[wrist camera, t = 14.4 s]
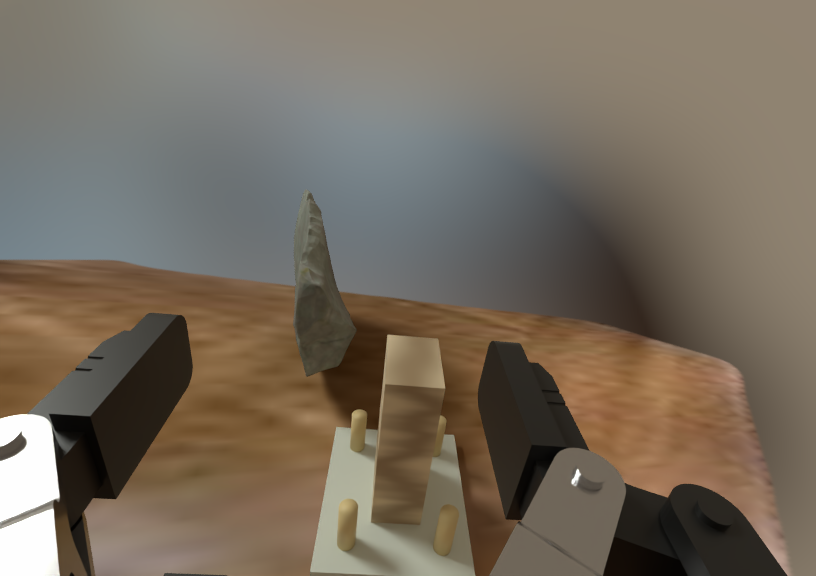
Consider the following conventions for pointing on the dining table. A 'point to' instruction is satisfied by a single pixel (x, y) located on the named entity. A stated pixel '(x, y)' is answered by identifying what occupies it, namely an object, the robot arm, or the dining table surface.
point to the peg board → (386, 542)
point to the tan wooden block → (406, 428)
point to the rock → (317, 295)
